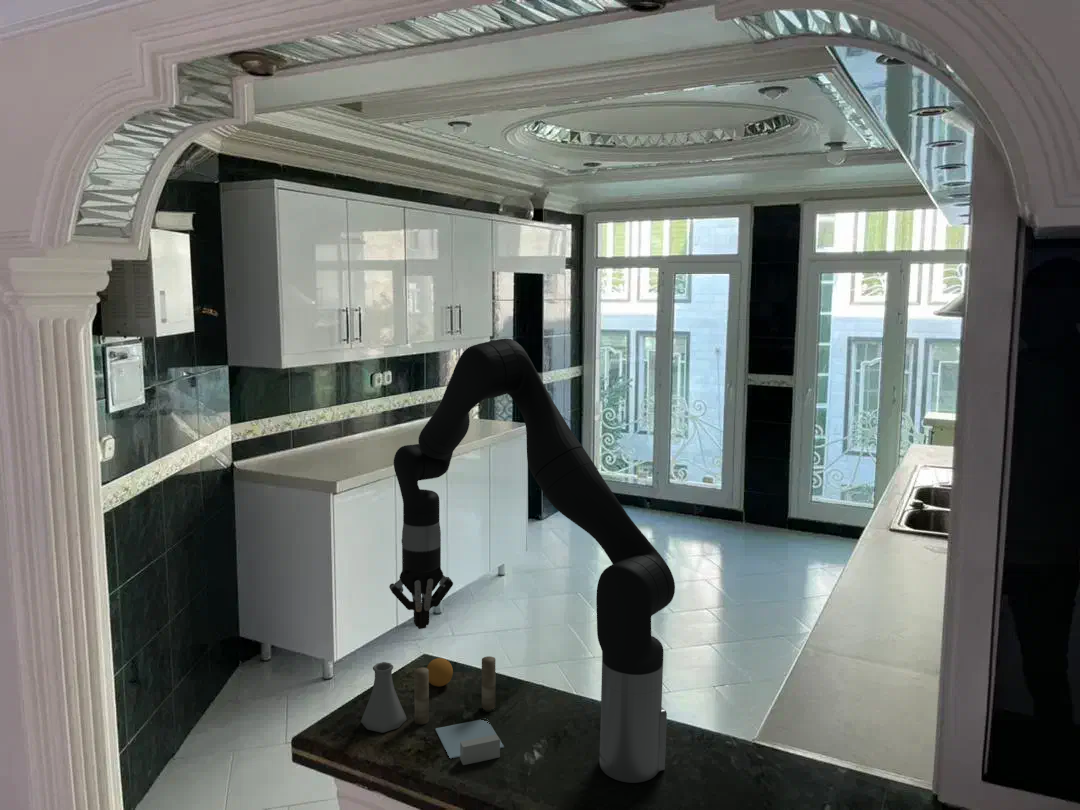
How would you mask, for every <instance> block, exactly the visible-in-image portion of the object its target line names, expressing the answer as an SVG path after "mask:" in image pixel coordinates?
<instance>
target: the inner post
mask: <svg viewBox="0 0 1080 810" xmlns="http://www.w3.org/2000/svg"><path fill="white" fill-rule="evenodd" d="M482 708H483V709H485V710H491V709H494V708H495V709H496V657H494V656H484V657H481V709H482ZM495 709H494V710H495Z"/></svg>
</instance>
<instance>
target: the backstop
mask: <svg viewBox="0 0 1080 810" xmlns="http://www.w3.org/2000/svg"><path fill="white" fill-rule="evenodd" d="M500 741H501V739H500V737H499V736H498V734H497V733H496V734H495V735H491V736H486V737H481V738H476V739H471V740H466V741H461V742H460V757H459V760H460V762H461V764H462V765H463V766H466V765H471V764H476V763H480V762H485V761H488V760H493V759H498V758H500V757H501V748H500Z"/></svg>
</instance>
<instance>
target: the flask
mask: <svg viewBox="0 0 1080 810" xmlns="http://www.w3.org/2000/svg"><path fill="white" fill-rule="evenodd" d="M393 669H394V665H393V664H392V663H391V662H386V661H382V662H378V663H376V664H375V665H373V666H372V670H373V671H374V682H373V687H372V690H371V693H370V697H369V699H368V702H367V705H366V707H365V710H364V712H363V714H362V718H361V721H360V722H361V724H362V725H363V727H365V729H366V730H368V731H373V732H378V733H381V734H383V733H386V732H389V731H392V730H396V729H399V728H400V727H401V726H402V725H403V724H404V723H405V722H406V721H407V720H408V718H407V716H406V713H405V711H404V709H403V707H402V705H401V702H400V699H399V697H398V694H397V692H396V689H395V685H394V681H393V676H392V675H393V674H392V671H393Z"/></svg>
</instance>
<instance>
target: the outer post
mask: <svg viewBox="0 0 1080 810" xmlns="http://www.w3.org/2000/svg"><path fill="white" fill-rule="evenodd" d="M413 673H414V674H413V676H414V677H413V678H414V679H413V680H414V681H413V683H414V685H413V686H414V690H413V691H414V692H413V693H414V694H413V695H414V723H415V724H417V725H426V724H428V723H429V721H430V703H429V702H430V698H429V697H430V696H429V695H430V691H429V690H430V688H429V687H430V685H429V684H430V682H429V670H428V669H427V667H418V668H415V669H414V670H413Z"/></svg>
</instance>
